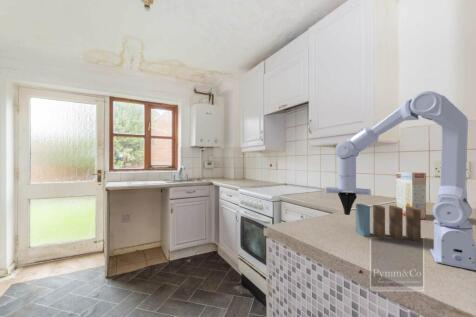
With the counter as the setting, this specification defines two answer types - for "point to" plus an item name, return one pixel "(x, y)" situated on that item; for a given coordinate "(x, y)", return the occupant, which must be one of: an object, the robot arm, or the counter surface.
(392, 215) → the domino
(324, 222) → the counter surface
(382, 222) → the domino
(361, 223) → the domino
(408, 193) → the cracker box
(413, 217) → the domino
